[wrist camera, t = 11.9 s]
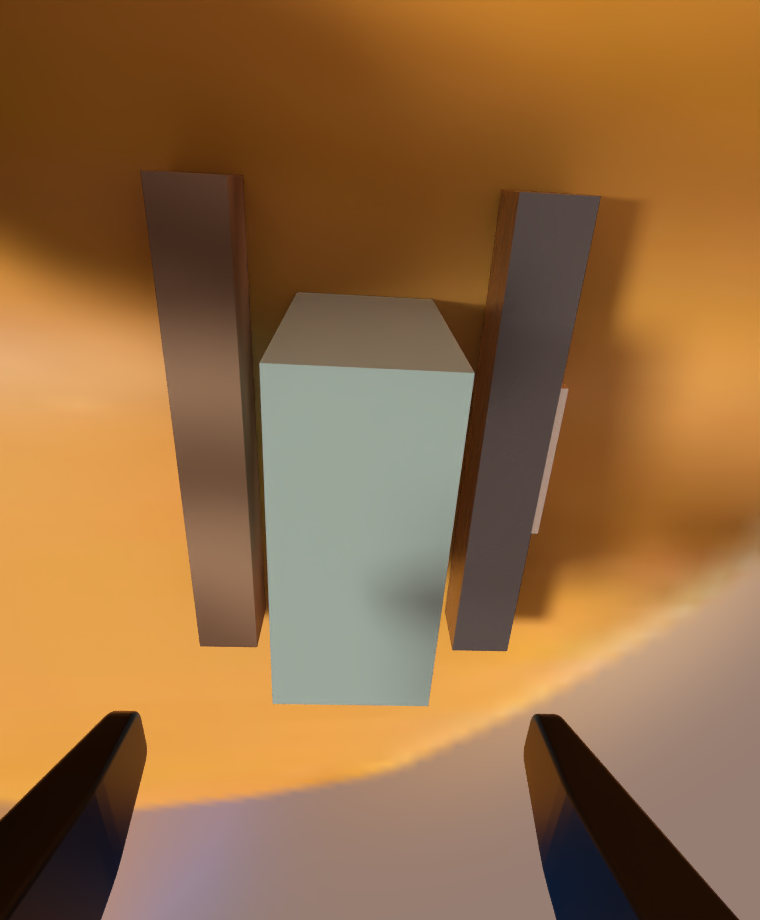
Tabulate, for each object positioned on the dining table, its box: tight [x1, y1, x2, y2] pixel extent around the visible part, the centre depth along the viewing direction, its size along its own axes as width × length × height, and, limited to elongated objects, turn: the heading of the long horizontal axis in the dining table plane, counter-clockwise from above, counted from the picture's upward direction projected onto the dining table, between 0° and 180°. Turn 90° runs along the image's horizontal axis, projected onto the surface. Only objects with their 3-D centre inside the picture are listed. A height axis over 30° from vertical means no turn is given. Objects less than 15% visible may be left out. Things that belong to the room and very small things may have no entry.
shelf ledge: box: [141, 171, 266, 647], centre depth 18 cm, size 15×2×2 cm, turn 177°
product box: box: [259, 292, 475, 706], centre depth 16 cm, size 4×9×7 cm, turn 177°
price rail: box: [445, 190, 601, 651], centre depth 18 cm, size 15×2×2 cm, turn 177°
